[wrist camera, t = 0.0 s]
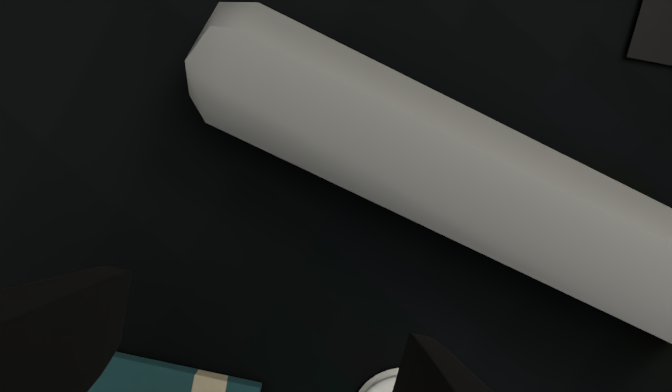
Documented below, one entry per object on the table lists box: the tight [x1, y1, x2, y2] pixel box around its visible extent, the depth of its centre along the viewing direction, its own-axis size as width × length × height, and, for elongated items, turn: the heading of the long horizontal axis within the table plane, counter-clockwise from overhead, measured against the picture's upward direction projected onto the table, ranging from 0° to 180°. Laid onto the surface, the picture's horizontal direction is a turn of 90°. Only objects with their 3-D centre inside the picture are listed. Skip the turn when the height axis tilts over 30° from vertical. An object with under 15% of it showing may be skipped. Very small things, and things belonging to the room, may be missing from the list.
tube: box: [185, 2, 672, 344], centre depth 19 cm, size 5×5×25 cm
